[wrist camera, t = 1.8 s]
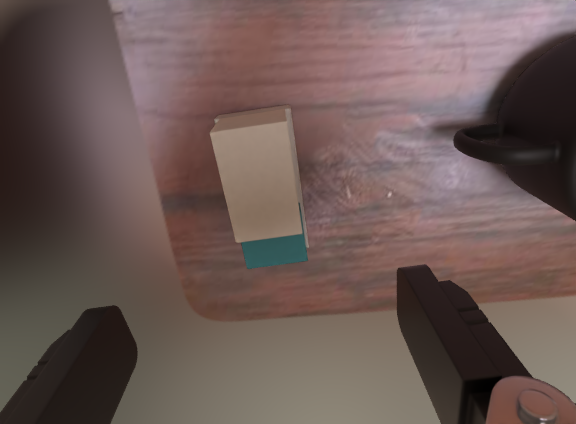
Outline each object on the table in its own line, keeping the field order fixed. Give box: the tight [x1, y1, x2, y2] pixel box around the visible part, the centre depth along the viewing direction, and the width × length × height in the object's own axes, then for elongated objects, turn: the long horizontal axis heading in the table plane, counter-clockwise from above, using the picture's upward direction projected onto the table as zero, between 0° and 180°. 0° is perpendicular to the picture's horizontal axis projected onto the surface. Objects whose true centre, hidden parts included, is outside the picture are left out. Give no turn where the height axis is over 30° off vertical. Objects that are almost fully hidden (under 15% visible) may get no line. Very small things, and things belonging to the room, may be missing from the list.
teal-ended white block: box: [210, 105, 309, 269], centre depth 20 cm, size 9×4×4 cm, turn 8°
